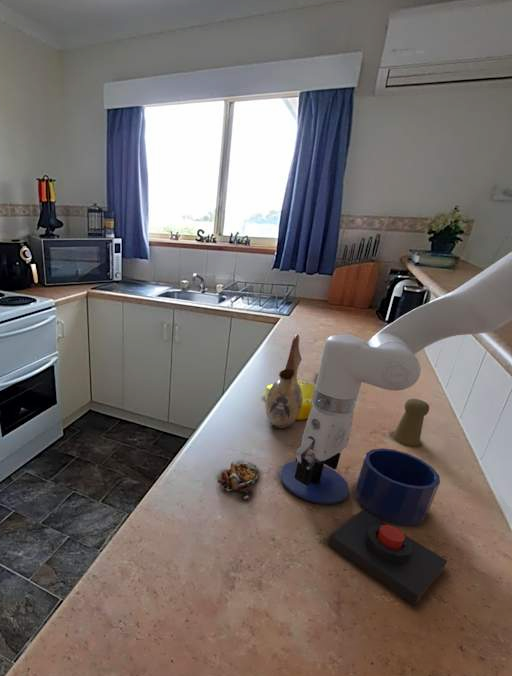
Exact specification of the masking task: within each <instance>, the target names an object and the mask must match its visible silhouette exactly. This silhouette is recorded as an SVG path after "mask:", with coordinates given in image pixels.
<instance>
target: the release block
mask: <svg viewBox="0 0 512 676" xmlns="http://www.w3.org/2000/svg"><path fill="white" fill-rule="evenodd" d="M383 525H388V524H387V523H386V522H384V521H382V519H380V518H378V517H377V516H375V515H373V514H372V513H370V512H369V511H367V510H364V509H362V510H360V511H359V512H358V513H357V514H355V515H354V516H352V518H350V519H349V520H348V521H346V522H345V523H344V524H342V525H341V526H340V527H339V528H337V529H336V530H335V531H333V532H332V533H331V534H330V535H329V538H328V542H327V545H328V546H329V547H330V548H332V549H333V550H334V551H336V552H337V553H339V554H340V555H342V557H344V558H346V559H347V560H348V561H350V562H351V563H352V564H354V565H355V566H357V567H358V568H359V569H361V570H362V571H364V572H365V573H367V574H368V576H370V577H372V578H373V579H375V580H377V581H378V582H379V583H381V584H382V585H383V586H385V587H386V588H387V589H388V590H390V591H392V592H393V593H394V594H396V595H397V596H398V597H400V598H401V599H403V600H404V601H406V602H407V603H408V604H410V605H411V606H412V607H415V606H416V605H417V604H418V603H419V601H420V600H421V599H422V597H423V596H424V595H425V593H426V592H427V591H428V590H429V589H430V587H431V586H432V585H433V583H434V582H435V581H436V580H437V579H438V577H439V576H440V575H441V573H442V572H443V571H444V570H445V567H446V566H447V562H448V560H447V559H446V558H443V557H442V556H441V555H438V554H437V553H435V552H434V551H432V550H430V549H429V548H427V547H425V546H424V545H423V544H421V543H420V542H417V541H415V540H414V539H413V538H411V537H409V536H408V535H406V534H405V533H403V534H404V536H405V540H404V542H403V545H402V547H401V548H400V549H397V550H395V549H392V548H389V547H387V546H385V545H383V544H382V543H380V541H379V540H378V537H377V536H378V533H379V530H380V527H381V526H383Z"/></svg>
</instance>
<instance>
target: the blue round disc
mask: <svg viewBox="0 0 512 676" xmlns="http://www.w3.org/2000/svg"><path fill="white" fill-rule="evenodd" d="M307 461H308V462H310V460H307ZM324 463H325V460H324V461H319V460H318V459H317V460H316V462H315V463H314V465H313V467H312V469H314V470H313V474H312V478H311V482H310V485H309V486H306V485H304V484H303V483H301V482H300V481H298V480H296V479H295V473H296V469H297V461H296V460H294V461H290V462H287V463H286V464H284V465H283V466H282V467H281V469H280V472H279V477H280V480H281V482H282V485H283V486H284V487H285V488H286V489H287V490H288V491H289V492H291V493H292V494H294V495H295V496H296V497H299V498H300V499H303V500H305V501H308V502H312V503H316V504H319V505H320V504H321V505H335V504H339V503H341V502H343V501H345V500H346V499H347V497H348V496H349V492H350V489H349V484H348V482H347V480H346V479H345V478H344V477H343V476H342V475H341V474H340V473H338V472H337V471H336V470H335V469H332V468H331V467H329V466H327V465H325V464H324Z"/></svg>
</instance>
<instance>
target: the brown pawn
mask: <svg viewBox="0 0 512 676" xmlns="http://www.w3.org/2000/svg"><path fill="white" fill-rule="evenodd" d="M429 411H430V406H429V404H428V403H427V402H426V401H424V400H422V399H419V398H409V399H408V400H406V401H405V404H404V413H403V415H402V416H401V418H400V420H399V422H398V425H397V426H396V428H395V430H394V432H393V434H392V438H393V439H394V440H395V441H397V442H398V443H401V444H403V445H406V446H412V447H414V446H415V447H416V446H419V445H420V442H421V436H422V431H423V430H422V429H423V425H424V419H425V416H427V415H428V413H429Z"/></svg>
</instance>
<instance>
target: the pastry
mask: <svg viewBox="0 0 512 676" xmlns="http://www.w3.org/2000/svg"><path fill="white" fill-rule="evenodd" d="M259 470H260V469H259V467H258V466H257V465H255V464H254V463H252V462H251V461H243V462H240V463H234V461H233V460H232V461H231V463H230V468H229V469H225V470H224V471H222V472H221V476H220V477H219V478H218V479H217V481H216V483H217V484H218V485H219V487H220V488H221V489H225V490H226V491H227V492H231V491H239V492H244V494H242V496H241V499H242V500H245V501H247V500H248V499H249V498H250V497H251V496H252V492H251V490H250V487H251V486H252V484H255V483H256V480H258V474H259Z"/></svg>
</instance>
